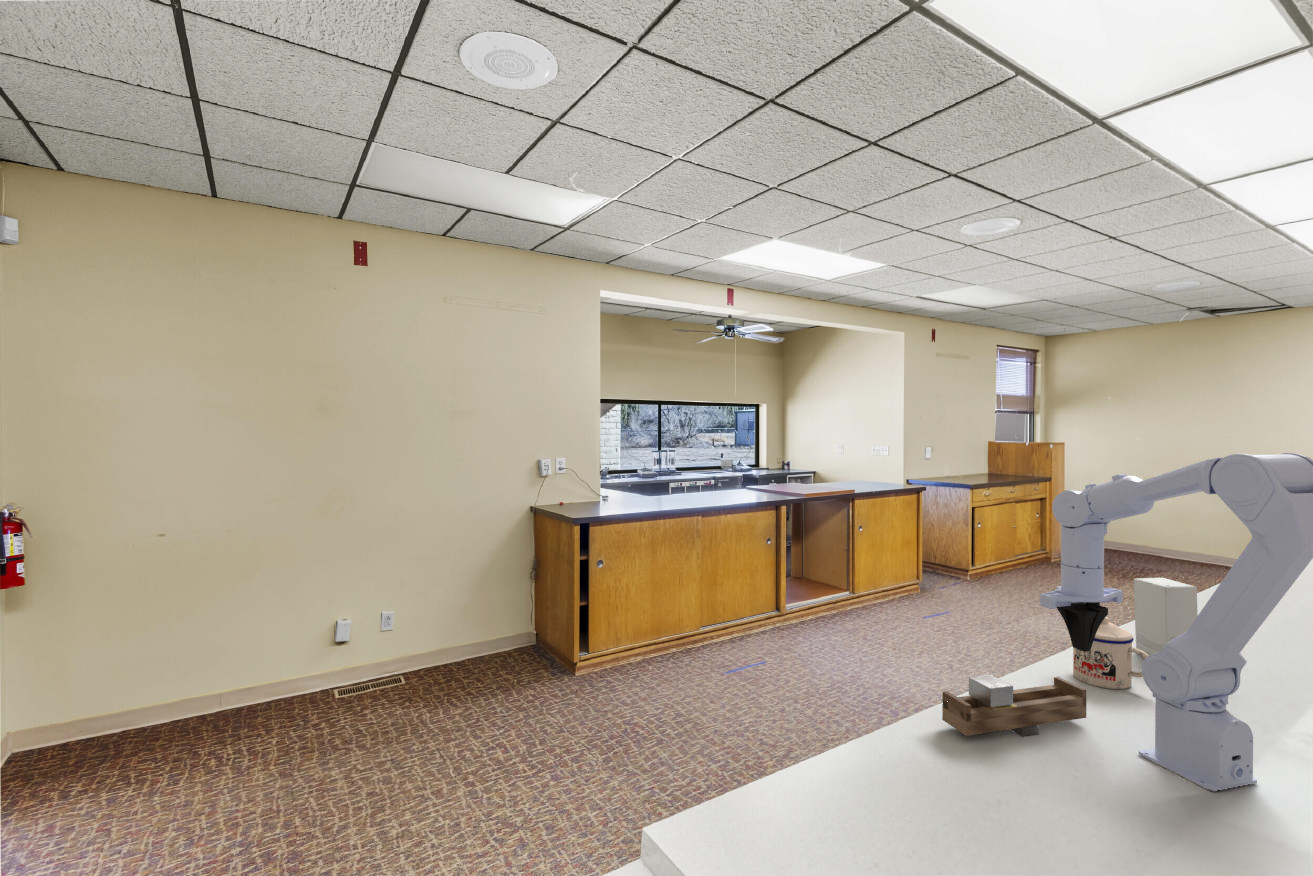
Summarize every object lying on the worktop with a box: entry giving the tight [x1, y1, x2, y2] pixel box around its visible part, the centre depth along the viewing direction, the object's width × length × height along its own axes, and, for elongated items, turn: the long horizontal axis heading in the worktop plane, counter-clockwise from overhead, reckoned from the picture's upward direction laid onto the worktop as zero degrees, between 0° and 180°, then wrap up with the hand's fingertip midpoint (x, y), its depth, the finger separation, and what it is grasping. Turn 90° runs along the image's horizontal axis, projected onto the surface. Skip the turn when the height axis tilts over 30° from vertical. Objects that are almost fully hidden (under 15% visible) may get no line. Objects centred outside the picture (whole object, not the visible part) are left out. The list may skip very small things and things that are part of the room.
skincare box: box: [1133, 577, 1199, 655], centre depth 121 cm, size 8×7×16 cm
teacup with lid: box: [1072, 616, 1149, 690], centre depth 110 cm, size 12×9×12 cm
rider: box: [968, 673, 1014, 708], centre depth 93 cm, size 4×4×4 cm
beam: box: [941, 676, 1088, 738], centre depth 94 cm, size 22×6×6 cm, turn 104°
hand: (1081, 649), depth 98 cm, fingers closed
